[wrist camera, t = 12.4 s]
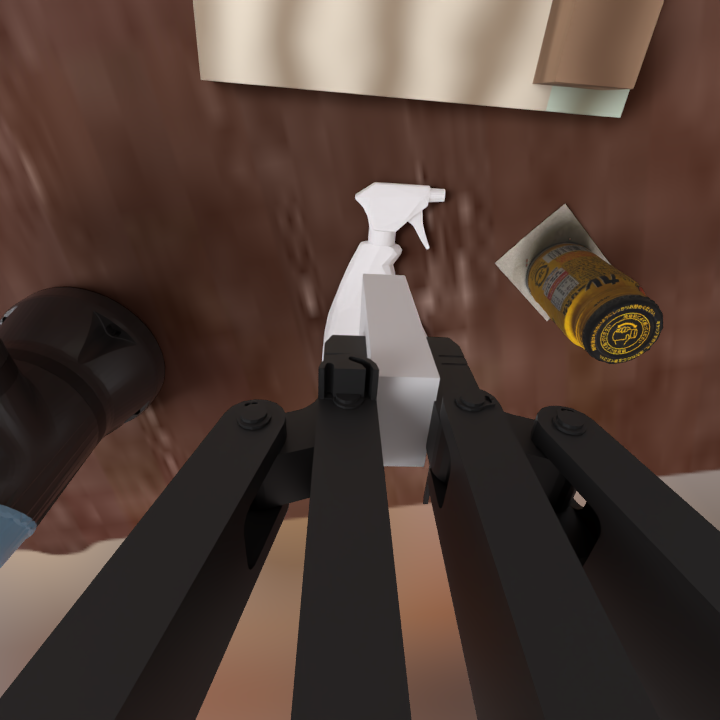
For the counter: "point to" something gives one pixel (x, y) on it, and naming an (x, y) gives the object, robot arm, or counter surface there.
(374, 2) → the trap deck
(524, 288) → the condiment
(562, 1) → the walnut block
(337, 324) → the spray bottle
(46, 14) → the counter surface
